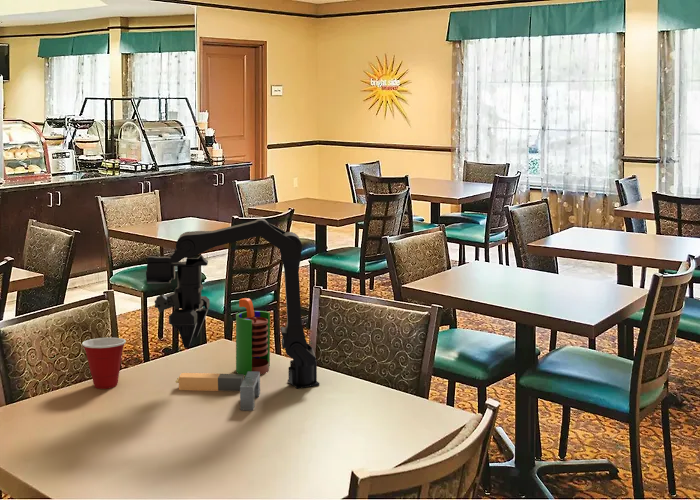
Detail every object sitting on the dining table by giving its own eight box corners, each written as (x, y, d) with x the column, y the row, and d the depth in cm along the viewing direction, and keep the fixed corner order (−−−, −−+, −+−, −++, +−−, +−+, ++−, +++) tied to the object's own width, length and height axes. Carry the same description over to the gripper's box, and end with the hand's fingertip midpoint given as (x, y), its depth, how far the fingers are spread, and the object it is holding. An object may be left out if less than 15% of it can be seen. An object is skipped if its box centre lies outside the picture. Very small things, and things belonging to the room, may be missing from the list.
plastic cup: (131, 377, 209) (129, 334, 207) (123, 391, 198) (121, 346, 196) (89, 378, 208) (87, 334, 206) (79, 392, 197) (77, 346, 195)
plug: (243, 386, 203) (243, 374, 202) (241, 391, 200) (241, 378, 199) (178, 385, 203) (178, 372, 203) (175, 389, 200) (174, 377, 200)
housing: (260, 393, 198) (259, 371, 197) (253, 410, 187) (252, 387, 186) (248, 393, 198) (247, 371, 197) (240, 410, 187) (240, 387, 186)
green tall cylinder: (262, 377, 210) (261, 305, 206) (230, 375, 211) (229, 303, 208) (273, 366, 220) (273, 296, 216) (243, 363, 221) (242, 294, 218)
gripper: (167, 274, 206) (169, 332, 209) (146, 290, 188) (148, 353, 191) (209, 275, 206) (210, 332, 209) (192, 291, 188) (194, 354, 190)
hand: (190, 342), depth 200 cm, fingers open, 9 cm apart
